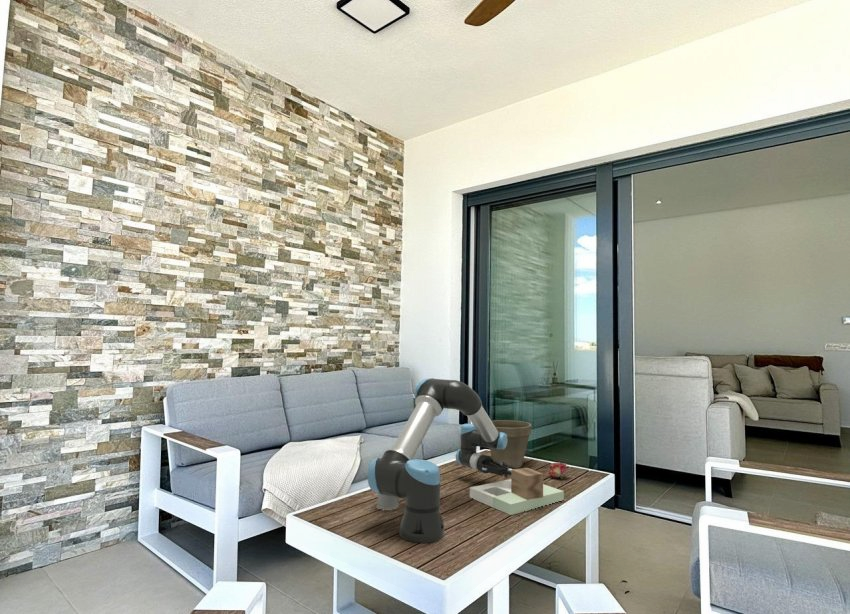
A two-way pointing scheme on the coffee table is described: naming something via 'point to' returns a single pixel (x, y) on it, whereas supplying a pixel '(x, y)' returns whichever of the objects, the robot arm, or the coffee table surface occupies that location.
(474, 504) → the coffee table surface
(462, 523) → the coffee table surface
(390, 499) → the glass holder
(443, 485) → the coffee table surface
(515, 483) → the walnut block
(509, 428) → the plant pot
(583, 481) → the coffee table surface
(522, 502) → the box
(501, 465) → the robot arm
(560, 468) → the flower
